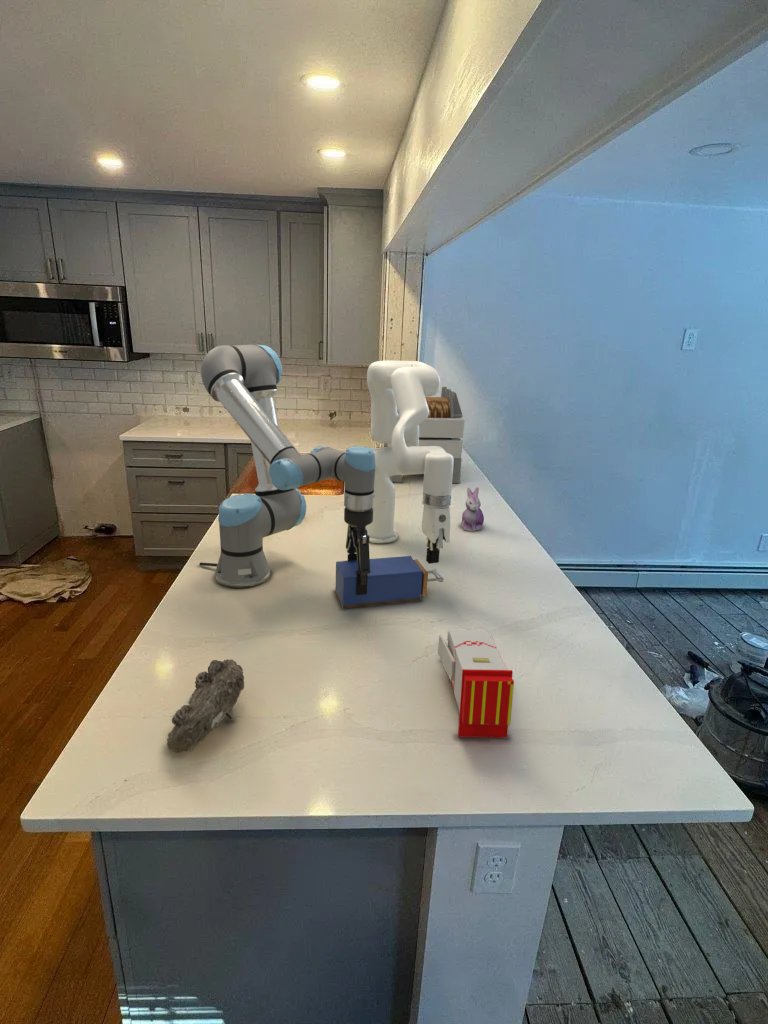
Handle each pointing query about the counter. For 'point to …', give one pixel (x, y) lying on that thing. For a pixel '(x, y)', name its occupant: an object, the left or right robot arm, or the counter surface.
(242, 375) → the left robot arm
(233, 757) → the counter surface
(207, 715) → the fossil
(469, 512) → the figurine
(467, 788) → the counter surface
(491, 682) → the toy
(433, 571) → the drawer
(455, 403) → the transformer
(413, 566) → the cabinet
